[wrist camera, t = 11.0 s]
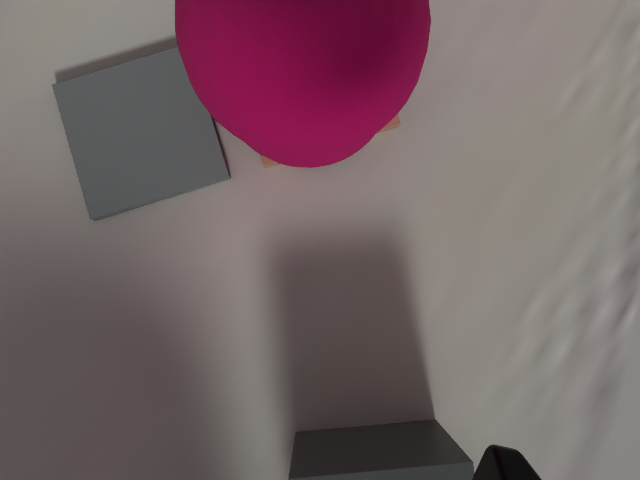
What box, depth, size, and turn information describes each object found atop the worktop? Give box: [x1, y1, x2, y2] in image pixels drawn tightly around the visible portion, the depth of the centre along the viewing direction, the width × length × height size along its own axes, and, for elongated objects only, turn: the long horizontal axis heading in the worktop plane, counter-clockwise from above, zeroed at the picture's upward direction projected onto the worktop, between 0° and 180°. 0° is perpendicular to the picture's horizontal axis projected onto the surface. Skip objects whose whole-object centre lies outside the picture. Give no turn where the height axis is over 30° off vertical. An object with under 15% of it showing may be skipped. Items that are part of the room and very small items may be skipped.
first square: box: [52, 47, 231, 220], centre depth 21 cm, size 5×5×1 cm
